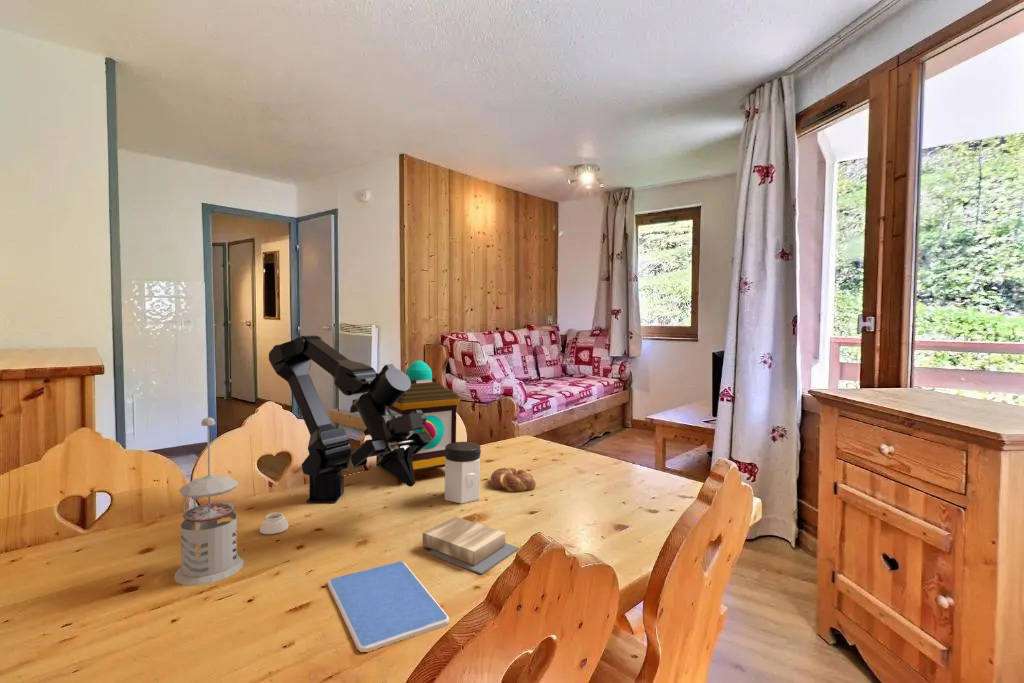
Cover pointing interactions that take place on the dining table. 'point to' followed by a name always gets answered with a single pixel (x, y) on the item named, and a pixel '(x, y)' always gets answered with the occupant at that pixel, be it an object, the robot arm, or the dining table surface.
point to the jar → (462, 472)
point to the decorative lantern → (429, 415)
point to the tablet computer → (385, 605)
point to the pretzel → (512, 480)
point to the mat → (482, 565)
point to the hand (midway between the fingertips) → (412, 485)
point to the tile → (464, 540)
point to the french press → (208, 531)
